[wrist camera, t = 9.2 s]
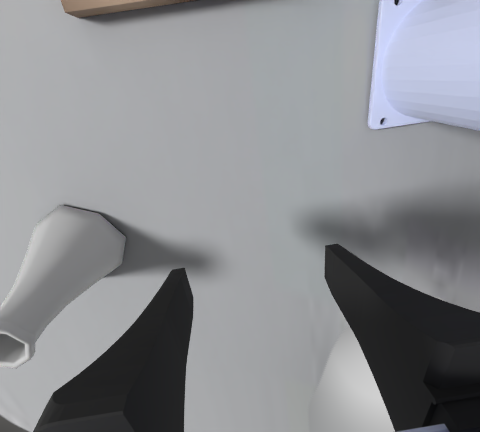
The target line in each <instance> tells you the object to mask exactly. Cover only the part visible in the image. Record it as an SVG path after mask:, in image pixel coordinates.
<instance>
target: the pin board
mask: <svg viewBox="0 0 480 432" xmlns="http://www.w3.org/2000/svg"><path fill="white" fill-rule="evenodd" d="M189 1H196V0H61V2H62V5H63V8H64V11H65V13H68V14H70V15H72V16H75V17H77V18H81V17H88V16H94V15H101V14H108V13H115V12H121V11H128V10H135V9H142V8H149V7H155V6H162V5H169V4H176V3H182V2H189Z"/></svg>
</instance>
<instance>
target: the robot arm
mask: <svg viewBox="0 0 480 432" xmlns="http://www.w3.org/2000/svg"><path fill="white" fill-rule="evenodd" d="M382 118H384V122H383V123H382V124H380V121H381V119H382ZM428 121H435V122H440V123H444V124H449V125H454V126H459V127H464V128H469V129H474V130H478V131H480V0H399V3H398V5H397V6H396V5H395V4H394V0H380V2H379V10H378V20H377V31H376V41H375V52H374V62H373V73H372V83H371V93H370V104H369V114H368V126H369V128H371V129H375V130H376V129H383V128H389V127H396V126H402V125H409V124H415V123H422V122H428ZM325 279H326V281H327V284H328V286H329V289H330V291H331V294H332V296H333V297H334V299H335V301H336V303H337V304H338V306H339V308H340V310H341V311H342V313H343V315H344V317H345V318H346V320H347V322H348V324H349V325H350V327H351V329H352V330H353V332H354V334H355V336H356V338H357V340H358V342H359V344H360V346H361V349H362V351H363V353H364V355H365V358H366V360H367V362H368V364H369V367H370V369H371V371H372V374H373V376H374V378H375V381H376V383H377V386H378V388H379V390H380V393H381V396H382V398H383V401H384V403H385V406H386V408H387V411H388V413H389V416H390V419H391V421H392V424H393V427H394V429H395V432H480V313H479V312H475V311H472V310H469V309H466V308H463V307H460V306H457V305H453V304H451V303H448V302H445V301H442V300H440V299H437V298H434V297H432V296H430V295H427V294H425V293H422V292H420V291H418V290H415V289H413V288H411V287H409V286H407V285H405V284H403V283H401V282H398V281H397V280H395V279H393V278H391V277H389V276H387V275H386V274H384V273H382V272H380V271H379V270H377V269H375V268H374V267H372V266H370V265H369V264H367V263H366V262H364V261H362V260H361V259H359V258H358V257H356V256H355V255H353V254H352V253H350V252H349V251H348V250H346V249H345V248H343V247H342V246H340V245H338V244H333V245H327V246H325ZM192 320H193V295H192V291H191V288H190V285H189V281H188V278H187V275H186V271H185V268H180V269H174V270H172V271H171V272H170V274H169V275H168V277H167V279H166V280H165V282H164V283H163V285H162V286H161V288H160V289H159V291H158V292H157V294H156V295H155V296H154V298H153V299H152V301H151V302H150V303H149V305H148V306H147V307H146V309H145V310H144V311H143V313H142V314H141V315H140V316H139V318H138V319H137V320H136V321H135V322H134V324H133V325H132V326H131V327H130V328H129V329H128V330H127V331H126V332H125V333H124V334H123V335H122V336H121V337H120V338H119V339H118V340H117V341H116V342H115V343H114V344H113V345H112V346H111V347H110V348H109V349H108V350H107V351H106V352H105V353H104V354H102V355H101V356H100V357H99V358H98V359H97V360H96V361H94V362H93V363H92V364H91V365H89V366H88V367H87V368H86V369H85V370H83V371H82V372H81V373H80V374H78V375H77V376H76V377H74V378H73V379H72V380H70V381H69V382H67V383H66V384H65V385H63V386H62V387H61V388H59V389H58V390H57V391H55V392H54V393H53V395H52V396H51V398H50V400H49V402H48V403H47V405H46V407H45V409H44V411H43V413H42V415H41V417H40V419H39V421H38V423H37V425H36V427H35V429H34V431H33V432H184V400H185V376H186V363H187V355H188V348H189V341H190V334H191V327H192Z"/></svg>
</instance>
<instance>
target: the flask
mask: <svg viewBox="0 0 480 432" xmlns="http://www.w3.org/2000/svg"><path fill="white" fill-rule="evenodd" d="M125 241H126V237H125V236H124V235H123V234H122V233H121V232H119V231H118V230H117V229H116V228H115V227H114V226H113V225H112V224H110V223H109V222H108V221H107V220H106V219H105V218H104V217H102V216H101V215H100V214H99V213H94V212H90V211H85V210H81V209H77V208H72V207H68V206H63V205H59V206H58V207H57V208H56V209H54V210H53V211H52V212H51V213H49V214H48V215H47V216H46V217H45V218H43V219H42V220H41V221H40V222H38V223H37V224H36V226H35V229H34V231H33V234H32V237H31V240H30V243H29V246H28V249H27V252H26V255H25V258H24V261H23V263H22V266H21V268H20V271H19V273H18V276H17V279H16V281H15V284H14V286H13V287H12V289H11V291H10V292H9V294H8V295H7V297H6V299H5V300H4V302H3V303H2V305H1V306H0V367H7V368H18V367H19V366H21V365H22V364H24V363H25V362H27V361H28V360H30V359H31V358H32V357H33V355H34V353H35V342H36V341H37V339H38V338H39V336H40V335H41V333H42V332H43V331H44V329H45V328H46V326H47V325H48V324H49V323H50V322H51V321H52V320H53V319H54V318H55V317H56V316H57V315H58V314H59V313H60V312H61V311H62V310H63V309H64V308H65V306H66V305H68V304H69V303H70V302H71V301H73V300H74V299H75V298H77V297H78V296H79V295H81V294H82V293H83V292H84V291H86V290H87V289H88V288H90V287H91V286H92V285H93V284H95V283H96V282H97V281H99V280H100V279H102V278H103V277H104V276H106V275H107V274H109V273H110V272H111V271H113V270H114V269H116V268H117V267H118V266H120V265H121V264H122V261H123V254H124V248H125Z"/></svg>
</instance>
